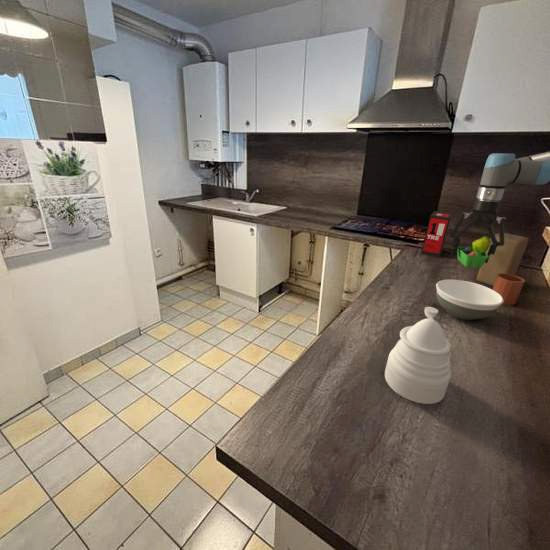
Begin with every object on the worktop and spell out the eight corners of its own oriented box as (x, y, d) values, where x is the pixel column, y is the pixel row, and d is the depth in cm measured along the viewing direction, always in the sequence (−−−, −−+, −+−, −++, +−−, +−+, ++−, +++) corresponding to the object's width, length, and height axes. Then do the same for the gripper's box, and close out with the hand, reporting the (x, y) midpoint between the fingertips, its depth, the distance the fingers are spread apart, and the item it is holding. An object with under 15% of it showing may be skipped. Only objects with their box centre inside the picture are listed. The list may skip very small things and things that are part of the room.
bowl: (503, 334, 86) (513, 310, 83) (433, 321, 92) (440, 297, 88) (485, 306, 102) (493, 284, 99) (427, 295, 108) (432, 275, 105)
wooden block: (512, 284, 120) (530, 237, 112) (502, 289, 115) (520, 241, 107) (485, 275, 128) (500, 231, 120) (474, 280, 123) (490, 234, 115)
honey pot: (383, 358, 74) (397, 295, 67) (438, 369, 71) (459, 305, 64) (385, 395, 63) (403, 324, 56) (451, 410, 60) (478, 337, 53)
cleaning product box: (425, 246, 167) (434, 211, 159) (442, 249, 162) (452, 213, 154) (421, 253, 154) (430, 215, 146) (439, 257, 150) (450, 218, 142)
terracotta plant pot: (515, 299, 108) (524, 277, 104) (514, 307, 102) (524, 284, 98) (490, 293, 112) (498, 271, 108) (488, 300, 106) (496, 277, 103)
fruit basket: (452, 258, 119) (460, 231, 114) (476, 260, 117) (485, 232, 113) (463, 268, 109) (471, 238, 104) (489, 270, 107) (499, 240, 102)
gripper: (450, 197, 107) (435, 254, 116) (528, 205, 94) (505, 268, 103) (454, 195, 113) (439, 250, 122) (528, 202, 100) (506, 263, 109)
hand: (469, 258), depth 112 cm, fingers closed on fruit basket, 10 cm apart
